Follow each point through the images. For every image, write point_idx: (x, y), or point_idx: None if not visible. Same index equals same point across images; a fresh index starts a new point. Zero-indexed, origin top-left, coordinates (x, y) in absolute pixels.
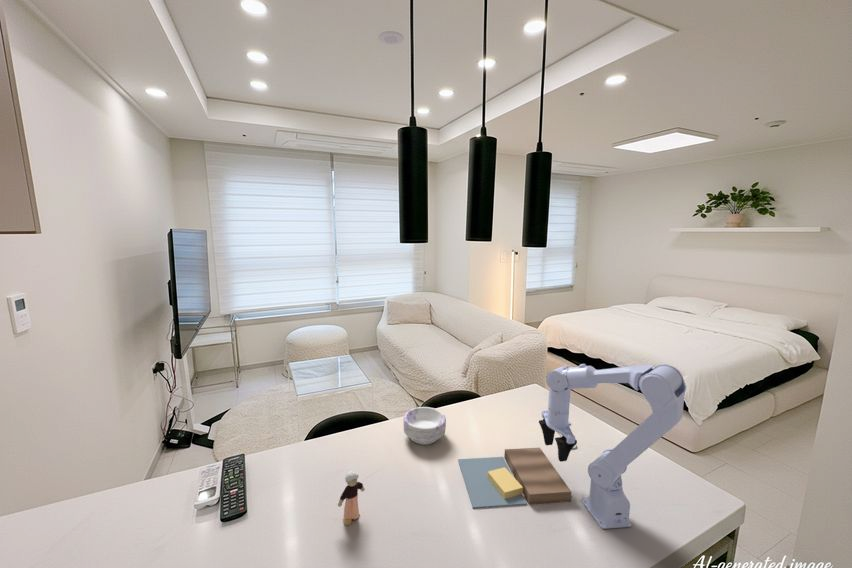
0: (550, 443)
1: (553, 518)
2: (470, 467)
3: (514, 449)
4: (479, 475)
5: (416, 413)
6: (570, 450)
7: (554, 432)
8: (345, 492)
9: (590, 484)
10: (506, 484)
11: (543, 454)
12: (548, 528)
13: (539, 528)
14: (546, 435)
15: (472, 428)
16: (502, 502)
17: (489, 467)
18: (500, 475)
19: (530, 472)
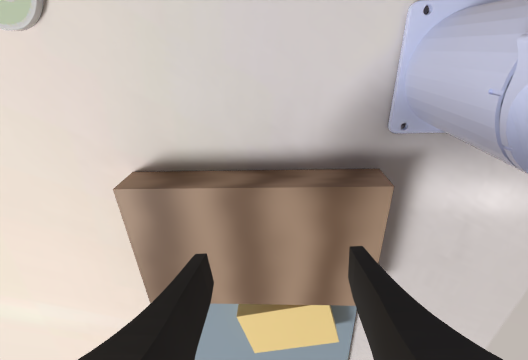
0: (206, 269)
1: (423, 243)
2: (217, 355)
3: (145, 277)
4: (246, 346)
5: None
6: (417, 305)
7: (172, 315)
8: None
9: (477, 147)
10: (310, 332)
11: (163, 193)
12: (447, 265)
13: (439, 283)
14: (193, 338)
15: (23, 314)
16: (344, 329)
17: (215, 322)
18: (272, 334)
19: (273, 272)
